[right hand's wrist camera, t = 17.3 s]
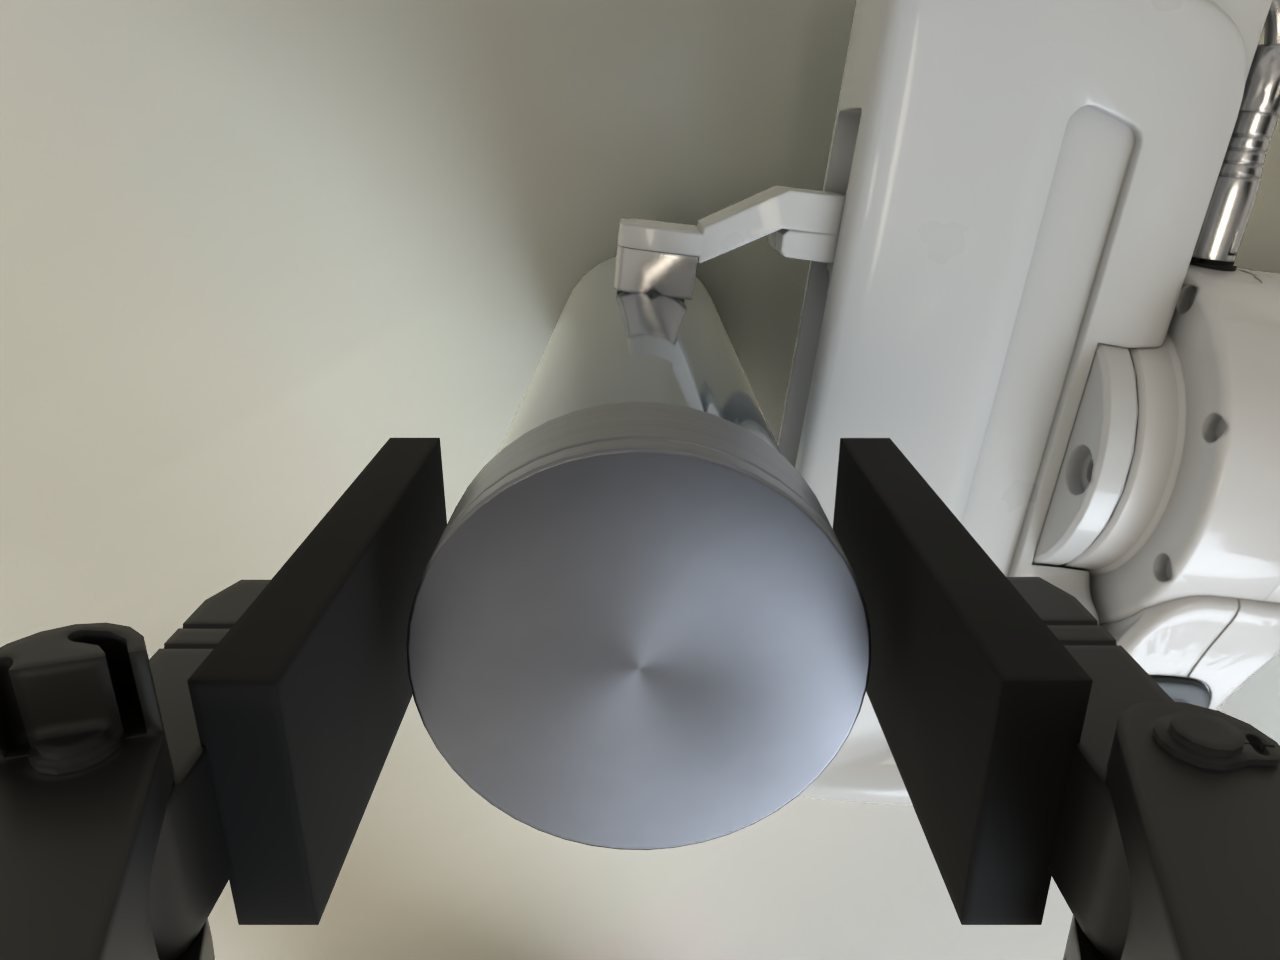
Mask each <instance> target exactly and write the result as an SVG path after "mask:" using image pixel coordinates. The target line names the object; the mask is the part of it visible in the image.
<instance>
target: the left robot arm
mask: <svg viewBox="0 0 1280 960" xmlns="http://www.w3.org/2000/svg"><path fill="white" fill-rule="evenodd" d="M1264 26H1265V35H1264V44H1263V45H1258V43H1259V40H1260V37H1261V34H1262V31H1263V28H1264ZM1279 117H1280V0H857V1H856V7H855V12H854V17H853V23H852V28H851V34H850V40H849V45H848V51H847V56H846V62H845V68H844V73H843V79H842V85H841V90H840V96H839V101H838V107H837V113H836V118H835V124H834V129H833V135H832V141H831V146H830V152H829V157H828V163H827V169H826V174H825V180H824V185H823V191H820V190H811V189H802V188H793V187H785V186H776V185H775V186H773V187H771V188H768V189H766V190H764V191H762V192H759V193H757V194H755V195H753V196H751V197H748V198H746V199H744V200H742V201H740V202H737V203H735V204H733V205H731V206H728V207H726V208H724V209H722V210H720V211H717V212H715V213H713V214H711V215H709V216H706V217H704V218H702V219H700V220H698V224H697V226H696V225H688V224H679V223H671V222H662V221H654V220H645V219H631V218H621V220H620V225H619V234H618V243H617V253H616V265H615V277H614V289H616V290H619V291H623V292H628V293H646V292H647V291H649V290H651V289H653V288H654V289H655V290H656V291H657V292H658V293H659V294H660V295H663V296H667V297H671V298H679V299H688V300H692V296H693V289H694V283H695V277H696V270H697V264H698V262H699V263H702V262H705V261H707V260H709V259H712V258H714V257H717V256H719V255H721V254H724V253H726V252H728V251H731V250H733V249H735V248H738V247H740V246H742V245H745V244H747V243H749V242H752V241H754V240H757V239H759V238H761V237H764V236H766V235H768V234H769V236H768V242H769V243H770V245H771V246H772V247H773V248H774V249H775V250H777V251H778V252H779V253H781V254H782V255H783V256H784V257H788V258H796V259H803V260H810V264H809V270H808V275H807V281H806V286H805V292H804V298H803V303H802V309H801V314H800V320H799V326H798V331H797V337H796V343H795V348H794V354H793V359H792V365H791V371H790V376H789V382H788V387H787V393H786V399H785V404H784V410H783V415H782V421H781V427H780V432H779V438H778V443H777V446H778V448H779V450H780V453H781V455H783V456H784V457H785V458H786V459H787V460H788V461H789V462H790V464H791V465H792V466H793V467H794V468H795V469H796V470H797V471H798V472H799V473H800V474H801V475H802V477H803V478H804V479H805V481H806V482H807V484H808V485H809V487H810V488H811V489H812V491H813V492H814V494H815V495H816V497H817V499H818V501H819V503H820V505H821V507H822V509H823V511H824V512H825V514H826V516H827V518H828V520H829V522H830V524H831V526H832V529H833V519H834V508H835V496H836V484H837V472H838V460H839V448H840V438H890V439H891V440H892V441H893V442H894V444H895V445H896V446H897V447H898V448H899V450H900V451H901V452H902V453H903V454H904V456H905V457H906V458H907V459H908V460H909V462H910V463H911V464H912V465H913V466H914V467H915V469H916V470H917V471H918V472H919V473H920V475H921V476H922V477H923V478H924V479H925V481H926V482H927V483H928V484H929V485H930V487H931V488H932V489H933V490H934V491H935V493H936V494H937V495H938V496H939V497H940V499H941V500H942V501H943V502H944V503H945V505H946V506H947V507H948V508H949V509H950V510H951V512H952V513H953V514H954V515H955V516H956V518H957V519H958V520H959V521H960V522H961V524H962V525H963V526H964V527H965V528H966V530H967V531H968V532H969V533H970V534H971V536H972V537H973V538H974V539H975V540H976V542H977V543H978V544H979V545H980V546H981V548H982V549H983V550H984V551H985V552H986V553H987V555H988V556H989V557H990V558H991V559H992V561H993V562H994V563H995V564H996V565H997V567H998V568H999V569H1000V570H1001V571H1002V573H1003V574H1004V575H1005V576H1006V577H1040V578H1042V579H1044V580H1045V581H1047V582H1049V583H1051V584H1053V585H1054V586H1056V587H1058V588H1060V589H1062V590H1063V591H1065V592H1067V593H1069V594H1070V595H1072V596H1074V597H1076V599H1077V600H1078V601H1079V602H1080V603H1081V604H1082V605H1083V606H1084V607H1085V608H1086V609H1087V610H1088V611H1089V612H1090V613H1091V614H1092V615H1093V616H1094V617H1095V619H1096V620H1097V623H1098V625H1102V626H1103V627H1104V628H1105V629H1106V630H1107V631H1108V632H1109V633H1110V634H1111V635H1112V636H1113V637H1114V639H1115V640H1116V644H1117V645H1121V646H1122V647H1123V648H1124V649H1125V650H1126V651H1127V652H1128V653H1129V654H1130V655H1131V656H1132V657H1133V658H1134V660H1135V661H1136V662H1137V663H1138V664H1139V665H1140V666H1141V667H1142V668H1143V669H1144V670H1145V671H1146V672H1147V673H1148V674H1149V675H1150V676H1151V677H1152V678H1153V680H1154V681H1155V682H1156V683H1157V684H1158V685H1159V686H1160V687H1161V688H1162V689H1163V690H1164V691H1165V692H1166V693H1167V694H1168V695H1169V696H1170V697H1171V698H1172V699H1173V701H1174V702H1185V703H1189V704H1193V705H1197V706H1201V707H1205V708H1209V709H1213V710H1218V708H1219V707H1220V706H1221V705H1222V704H1223V703H1224V702H1225V701H1226V700H1227V699H1228V698H1229V697H1230V696H1231V695H1232V694H1233V693H1234V692H1235V691H1237V690H1238V689H1239V688H1240V687H1241V686H1242V685H1243V684H1244V683H1245V682H1246V681H1247V680H1248V679H1249V678H1251V677H1252V676H1253V675H1254V674H1255V673H1256V672H1258V671H1259V670H1260V669H1261V668H1262V667H1263V666H1265V665H1266V664H1267V663H1268V662H1269V661H1270V660H1272V659H1273V658H1274V657H1275V656H1276V655H1277V654H1278V653H1279V652H1280V273H1272V272H1263V271H1255V270H1247V269H1241V268H1237V267H1236V266H1233V264H1234V261H1235V258H1236V255H1237V252H1238V249H1239V246H1240V244H1241V241H1242V238H1243V235H1244V232H1245V229H1246V226H1247V223H1248V220H1249V217H1250V215H1251V212H1252V209H1253V206H1254V203H1255V200H1256V196H1257V192H1258V189H1259V185H1260V181H1259V178H1261V176H1262V171H1263V168H1262V167H1261V166H1262V165H1263V164H1264V161H1265V157H1266V155H1265V154H1264V153H1265V152H1266V151H1267V149H1268V146H1269V143H1270V141H1269V138H1271V137H1272V134H1273V131H1274V129H1275V126H1276V123H1277V120H1278V118H1279ZM798 796H800V797H806V798H813V799H822V800H832V801H842V802H854V803H869V804H887V805H913V804H912V802H911V800H910V797H909V795H908V792H907V790H906V787H905V785H904V782H903V780H902V778H901V775H900V773H899V770H898V768H897V765H896V763H895V760H894V758H893V756H892V753H891V751H890V748H889V746H888V743H887V741H886V739H885V736H884V734H883V731H882V729H881V726H880V724H879V721H878V719H877V717H876V714H875V712H874V709H873V707H872V704H871V702H870V699H869V697H868V695H867V692H866V693H865V696H864V699H863V703H862V706H861V710H860V712H859V715H858V717H857V719H856V721H855V723H854V725H853V728H852V730H851V732H850V734H849V736H848V738H847V739H846V741H845V742H844V744H843V745H842V747H841V749H840V750H839V752H838V753H837V755H836V756H835V758H834V759H833V760H832V761H831V762H830V764H829V765H828V766H827V767H826V768H825V770H824V771H823V772H822V773H821V774H820V776H819V777H818V778H817V779H816V780H815V781H813V782H812V783H811V784H810V785H809V786H808V787H807V788H806V789H805V790H804V791H803V792H802V793H800V794H799V795H798Z"/></svg>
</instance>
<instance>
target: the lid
mask: <svg viewBox="0 0 1280 960" xmlns="http://www.w3.org/2000/svg"><path fill="white" fill-rule="evenodd" d="M406 651H407V664H408V675H409V680H410V684H411V688H412V693H413V697H414V701H415V703H416V706H417V709H418V711H419V714H420V716H421V719H422V721H423V724H424V726H425V728H426V730H427V732H428V733H429V735H430V737H431V739H432V740H433V742H434V744H435V746H436V748H437V749H438V750H439V752H440V753H441V754H442V756H443V757H444V758H445V760H446V761H447V762H448V764H449V765H450V766H451V768H452V769H453V770H454V771H455V772H456V773H457V774H458V775H459V776H460V777H461V778H462V779H463V780H464V781H465V782H466V783H467V784H468V785H469V786H470V787H471V788H472V789H473V790H474V791H476V792H477V793H478V794H479V795H481V796H482V797H483V798H484V799H486V800H487V801H488V802H489V803H491V804H492V805H493V806H495V807H497V808H498V809H500V810H501V811H503V812H505V813H506V814H508V815H509V816H511V817H513V818H514V819H516V820H518V821H520V822H522V823H525V824H527V825H529V826H531V827H533V828H535V829H537V830H539V831H542V832H545V833H548V834H551V835H554V836H556V837H559V838H562V839H565V840H569V841H574V842H578V843H582V844H586V845H591V846H597V847H605V848H613V849H630V850H652V849H664V848H675V847H681V846H686V845H691V844H697V843H702V842H705V841H709V840H712V839H715V838H719V837H722V836H725V835H729V834H731V833H733V832H736V831H738V830H740V829H743V828H745V827H748V826H750V825H752V824H754V823H756V822H758V821H760V820H761V819H763V818H765V817H767V816H769V815H770V814H772V813H774V812H776V811H777V810H779V809H780V808H782V807H783V806H784V805H786V804H787V803H789V802H790V801H791V800H793V799H794V798H795V797H797V796H798V795H799V794H800V793H802V792H803V791H804V790H805V789H806V788H807V787H808V786H809V785H810V784H811V783H812V782H813V781H815V780H816V779H817V778H818V777H819V776H820V774H821V773H822V772H823V771H824V770H825V768H826V767H827V766H828V765H829V764H830V762H831V761H832V760H833V759H834V758H835V756H836V755H837V753H838V752H839V750H840V749H841V747H842V745H843V744H844V742H845V741H846V739H847V738H848V736H849V734H850V732H851V730H852V728H853V725H854V723H855V721H856V719H857V717H858V715H859V712H860V710H861V706H862V703H863V699H864V696H865V693H866V689H867V686H868V680H869V672H870V665H871V630H870V624H869V618H868V612H867V606H866V603H865V600H864V597H863V594H862V591H861V588H860V585H859V582H858V579H857V577H856V575H855V573H854V571H853V569H852V567H851V565H850V563H849V561H848V559H847V557H846V555H845V553H844V551H843V549H842V547H841V545H840V543H839V541H838V539H837V537H836V535H835V533H834V531H833V529H832V526H831V524H830V522H829V520H828V518H827V516H826V514H825V512H824V511H823V509H822V507H821V505H820V503H819V501H818V499H817V497H816V495H815V494H814V492H813V491H812V489H811V488H810V487H809V485H808V484H807V482H806V481H805V479H804V478H803V477H802V475H801V474H800V473H799V472H798V471H797V470H796V469H795V468H794V467H793V466H792V465H791V464H790V462H789V461H788V460H787V459H786V458H785V457H784V456H783V455H781V454H780V453H779V452H778V451H776V450H775V449H774V448H773V447H771V446H770V445H769V444H768V443H767V442H765V441H764V440H763V439H761V438H759V437H758V436H756V435H754V434H753V433H751V432H749V431H748V430H746V429H744V428H743V427H741V426H739V425H737V424H735V423H733V422H730V421H728V420H726V419H723V418H721V417H719V416H716V415H714V414H711V413H707V412H704V411H700V410H697V409H693V408H690V407H686V406H679V405H673V404H666V403H660V402H623V403H613V404H603V405H598V406H594V407H590V408H585V409H581V410H577V411H573V412H571V413H568V414H565V415H563V416H560V417H557V418H555V419H552V420H549V421H547V422H545V423H543V424H542V425H540V426H538V427H536V428H534V429H532V430H530V431H528V432H526V433H525V434H523V435H522V436H520V437H519V438H518V439H516V440H515V441H513V442H512V443H511V444H509V445H508V446H506V447H505V448H504V449H502V450H501V451H500V452H499V453H498V454H497V455H496V456H495V457H494V458H493V459H492V460H491V461H490V462H489V463H488V464H486V465H485V466H484V467H483V469H482V470H481V471H480V472H479V474H478V475H477V476H476V477H475V479H474V480H473V481H472V482H471V484H470V485H469V486H468V488H467V489H466V491H465V493H464V494H463V496H462V498H461V500H460V501H459V503H458V505H457V506H456V508H455V510H454V512H453V514H452V516H451V518H450V520H449V522H448V524H447V526H446V528H445V530H444V532H443V534H442V536H441V538H440V540H439V542H438V544H437V546H436V548H435V550H434V552H433V554H432V556H431V558H430V560H429V562H428V564H427V566H426V568H425V570H424V572H423V575H422V577H421V580H420V582H419V585H418V587H417V590H416V592H415V595H414V599H413V603H412V608H411V612H410V616H409V620H408V632H407V645H406Z"/></svg>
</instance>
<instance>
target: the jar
mask: <svg viewBox="0 0 1280 960" xmlns="http://www.w3.org/2000/svg"><path fill="white" fill-rule="evenodd" d="M615 265H616V256H615V257H612V258H610V259H607V260H605V261H603V262H601V263H600V264H598V265H596V266H595V267H593V268H592V269H591V270H590V271H588V272H587V273H586V274H585V275H584V276H583V277H582V278H581V279H580V280H579V282H578V283H577V285H576V286H575V287H574V289H573V290H572V292H571V294H570V296H569V298H568V300H567V302H566V304H565V307H564V309H563V311H562V313H561V315H560V318H559V320H558V322H557V324H556V326H555V329H554V331H553V333H552V335H551V337H550V340H549V342H548V344H547V346H546V348H545V351H544V353H543V355H542V357H541V359H540V362H539V364H538V366H537V368H536V370H535V373H534V375H533V377H532V379H531V381H530V384H529V386H528V388H527V390H526V392H525V395H524V397H523V399H522V401H521V403H520V406H519V408H518V410H517V412H516V414H515V417H514V419H513V421H512V423H511V425H510V428H509V430H508V432H507V434H506V436H505V439H504V441H503V443H502V445H501V447H500V450H499V452H500V451H501V450H502V449H504V448H505V447H506V446H508V445H509V444H511V443H512V442H513V441H515V440H516V439H518V438H519V437H520V436H522V435H523V434H525V433H526V432H528V431H530V430H532V429H534V428H536V427H538V426H540V425H542V424H543V423H545V422H547V421H549V420H552V419H555V418H557V417H560V416H563V415H565V414H568V413H571V412H573V411H577V410H581V409H585V408H590V407H594V406H598V405H603V404H613V403H623V402H660V403H666V404H673V405H679V406H686V407H690V408H693V409H697V410H700V411H704V412H707V413H711V414H714V415H716V416H719V417H721V418H723V419H726V420H728V421H730V422H733V423H735V424H737V425H739V426H741V427H743V428H744V429H746V430H748V431H749V432H751V433H753V434H754V435H756V436H758V437H759V438H761V439H763V440H764V441H765V442H767V443H768V444H769V445H770V446H771V447H773V448H774V449H775V450H776V451H778V452H779V453H780V450H779V448H778V446H777V444H776V441H775V439H774V437H773V435H772V432H771V430H770V428H769V426H768V424H767V421H766V419H765V417H764V415H763V412H762V410H761V408H760V406H759V403H758V401H757V399H756V397H755V395H754V392H753V390H752V388H751V386H750V383H749V381H748V379H747V377H746V374H745V372H744V370H743V368H742V366H741V363H740V361H739V359H738V357H737V354H736V352H735V350H734V348H733V345H732V343H731V341H730V339H729V336H728V334H727V332H726V330H725V328H724V325H723V323H722V321H721V319H720V316H719V314H718V312H717V310H716V307H715V305H714V303H713V301H712V299H711V296H710V295H709V293H708V291H707V289H706V288H705V286H704V285H703V284H702V282H701V281H700V280H699V279H698V278H697V277H695V283H694V289H693V296H692V300H688V299H679V298H671V297H667V296H663V295H660V294H659V293H658V292H657V291H656V290H655V289H654V288H653V289H651V290H649V291H647V292H646V293H628V292H623V291H619V290H616V289H614V277H615ZM499 452H498V453H499ZM780 454H781V453H780Z"/></svg>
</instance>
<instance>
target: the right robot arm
mask: <svg viewBox="0 0 1280 960" xmlns="http://www.w3.org/2000/svg"><path fill="white" fill-rule="evenodd" d="M446 526H447V520H446V508H445V496H444V484H443V472H442V460H441V448H440V438H390V439H389V440H388V441H387V442H386V444H385V445H384V446H383V447H382V448H381V450H380V451H379V452H378V453H377V454H376V456H375V457H374V458H373V459H372V460H371V461H370V463H369V464H368V465H367V466H366V467H365V469H364V470H363V471H362V472H361V473H360V475H359V476H358V477H357V478H356V479H355V481H354V482H353V483H352V484H351V485H350V487H349V488H348V489H347V490H346V491H345V493H344V494H343V495H342V496H341V497H340V499H339V500H338V501H337V502H336V503H335V504H334V506H333V507H332V508H331V509H330V510H329V512H328V513H327V514H326V515H325V516H324V518H323V519H322V520H321V521H320V522H319V524H318V525H317V526H316V527H315V528H314V530H313V531H312V532H311V533H310V534H309V536H308V537H307V538H306V539H305V540H304V542H303V543H302V544H301V545H300V546H299V547H298V549H297V550H296V551H295V552H294V553H293V555H292V556H291V557H290V558H289V559H288V561H287V562H286V563H285V564H284V565H283V567H282V568H281V569H280V570H279V571H278V573H277V574H276V575H275V576H274V577H273V579H272V580H240V581H239V582H237V583H235V584H233V585H232V586H230V587H228V588H226V589H224V590H223V591H221V592H219V593H217V594H216V595H214V596H212V597H210V598H209V599H207V600H205V601H204V602H203V603H202V604H201V605H200V607H199V608H198V609H197V610H196V611H195V612H194V613H193V614H192V615H191V616H190V617H189V618H188V619H187V620H186V621H185V622H184V624H183V629H178V630H177V631H176V632H175V633H174V634H173V635H172V636H171V637H170V638H169V639H168V640H167V642H166V643H165V647H164V649H159V650H158V651H157V652H156V653H155V654H154V655H153V656H152V657H151V658H150V660H149V659H148V654H147V650H146V646H145V641H144V637H143V636H142V635H141V634H139V633H138V632H137V631H135V630H134V629H132V628H131V627H128V626H122V625H116V624H110V623H93V624H75V625H70V626H66V627H61V628H56V629H52V630H47V631H42V632H39V633H36V634H33V635H31V636H28V637H25V638H22V639H20V640H17V641H14V642H11V643H9V644H6V645H4V646H3V647H1V648H0V960H214V958H215V957H214V949H213V942H212V936H211V931H210V927H209V923H208V916H209V914H210V912H211V911H212V909H213V907H214V905H215V903H216V902H217V900H218V898H219V896H220V894H221V893H222V891H223V889H224V887H225V885H226V884H227V882H228V880H229V881H230V885H231V890H232V895H233V900H234V904H235V909H236V914H237V919H238V923H239V925H318V924H319V921H320V919H321V917H322V914H323V912H324V909H325V907H326V904H327V902H328V900H329V897H330V895H331V892H332V890H333V887H334V885H335V882H336V880H337V878H338V875H339V873H340V870H341V868H342V865H343V863H344V860H345V858H346V856H347V853H348V851H349V848H350V846H351V843H352V841H353V839H354V836H355V834H356V831H357V829H358V826H359V824H360V821H361V819H362V817H363V814H364V812H365V809H366V807H367V804H368V802H369V799H370V797H371V795H372V792H373V790H374V787H375V785H376V782H377V780H378V778H379V775H380V773H381V770H382V768H383V765H384V763H385V760H386V758H387V756H388V753H389V751H390V748H391V746H392V743H393V741H394V739H395V736H396V734H397V731H398V729H399V726H400V724H401V721H402V719H403V717H404V714H405V712H406V709H407V707H408V704H409V702H410V699H411V697H412V695H413V693H412V688H411V684H410V680H409V675H408V664H407V651H406V645H407V632H408V620H409V616H410V612H411V608H412V603H413V599H414V595H415V592H416V590H417V587H418V585H419V582H420V580H421V577H422V575H423V572H424V570H425V568H426V566H427V564H428V562H429V560H430V558H431V556H432V554H433V552H434V550H435V548H436V546H437V544H438V542H439V540H440V538H441V536H442V534H443V532H444V530H445V528H446ZM833 531H834V533H835V535H836V537H837V539H838V541H839V543H840V545H841V547H842V549H843V551H844V553H845V555H846V557H847V559H848V561H849V563H850V565H851V567H852V569H853V571H854V573H855V575H856V577H857V579H858V582H859V585H860V588H861V591H862V594H863V597H864V600H865V603H866V606H867V612H868V618H869V624H870V630H871V665H870V672H869V680H868V686H867V689H866V692H867V695H868V697H869V699H870V702H871V704H872V707H873V709H874V712H875V714H876V717H877V719H878V721H879V724H880V726H881V729H882V731H883V734H884V736H885V739H886V741H887V743H888V746H889V748H890V751H891V753H892V756H893V758H894V760H895V763H896V765H897V768H898V770H899V773H900V775H901V778H902V780H903V782H904V785H905V787H906V790H907V792H908V795H909V797H910V800H911V802H912V804H913V807H914V809H915V812H916V814H917V817H918V819H919V821H920V824H921V826H922V829H923V831H924V834H925V836H926V839H927V841H928V843H929V846H930V848H931V851H932V853H933V856H934V858H935V861H936V863H937V865H938V868H939V870H940V873H941V875H942V878H943V880H944V882H945V885H946V887H947V890H948V892H949V895H950V897H951V900H952V902H953V904H954V907H955V909H956V912H957V914H958V917H959V919H960V921H961V924H962V925H1041V923H1042V918H1043V914H1044V909H1045V904H1046V900H1047V895H1048V890H1049V885H1050V881H1051V876H1052V877H1053V879H1054V881H1055V883H1056V884H1057V886H1058V888H1059V890H1060V891H1061V893H1062V895H1063V897H1064V899H1065V900H1066V902H1067V904H1068V906H1069V908H1070V909H1071V911H1072V913H1073V918H1072V923H1071V927H1070V931H1069V936H1068V940H1067V945H1066V949H1065V953H1064V958H1063V960H1280V746H1279V745H1278V743H1277V742H1275V741H1274V740H1272V739H1271V738H1269V737H1268V736H1266V735H1265V734H1263V733H1262V732H1260V731H1259V730H1257V729H1256V728H1254V727H1253V726H1251V725H1250V724H1248V723H1245V722H1243V721H1241V720H1238V719H1236V718H1234V717H1231V716H1229V715H1227V714H1224V713H1222V712H1220V711H1217V710H1213V709H1209V708H1205V707H1201V706H1197V705H1193V704H1189V703H1185V702H1174V701H1173V699H1172V698H1171V697H1170V696H1169V695H1168V694H1167V693H1166V692H1165V691H1164V690H1163V689H1162V688H1161V687H1160V686H1159V685H1158V684H1157V683H1156V682H1155V681H1154V680H1153V678H1152V677H1151V676H1150V675H1149V674H1148V673H1147V672H1146V671H1145V670H1144V669H1143V668H1142V667H1141V666H1140V665H1139V664H1138V663H1137V662H1136V661H1135V660H1134V658H1133V657H1132V656H1131V655H1130V654H1129V653H1128V652H1127V651H1126V650H1125V649H1124V648H1123V647H1122V646H1121V645H1117V644H1116V640H1115V639H1114V637H1113V636H1112V635H1111V634H1110V633H1109V632H1108V631H1107V630H1106V629H1105V628H1104V627H1103V626H1102V625H1098V623H1097V620H1096V619H1095V617H1094V616H1093V615H1092V614H1091V613H1090V612H1089V611H1088V610H1087V609H1086V608H1085V607H1084V606H1083V605H1082V604H1081V603H1080V602H1079V601H1078V600H1077V599H1076V597H1074V596H1072V595H1070V594H1069V593H1067V592H1065V591H1063V590H1062V589H1060V588H1058V587H1056V586H1054V585H1053V584H1051V583H1049V582H1047V581H1045V580H1044V579H1042V578H1040V577H1006V576H1005V575H1004V574H1003V573H1002V571H1001V570H1000V569H999V568H998V567H997V565H996V564H995V563H994V562H993V561H992V559H991V558H990V557H989V556H988V555H987V553H986V552H985V551H984V550H983V549H982V548H981V546H980V545H979V544H978V543H977V542H976V540H975V539H974V538H973V537H972V536H971V534H970V533H969V532H968V531H967V530H966V528H965V527H964V526H963V525H962V524H961V522H960V521H959V520H958V519H957V518H956V516H955V515H954V514H953V513H952V512H951V510H950V509H949V508H948V507H947V506H946V505H945V503H944V502H943V501H942V500H941V499H940V497H939V496H938V495H937V494H936V493H935V491H934V490H933V489H932V488H931V487H930V485H929V484H928V483H927V482H926V481H925V479H924V478H923V477H922V476H921V475H920V473H919V472H918V471H917V470H916V469H915V467H914V466H913V465H912V464H911V463H910V462H909V460H908V459H907V458H906V457H905V456H904V454H903V453H902V452H901V451H900V450H899V448H898V447H897V446H896V445H895V444H894V442H893V441H892V440H891V439H890V438H840V448H839V460H838V472H837V484H836V496H835V508H834V519H833Z"/></svg>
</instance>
